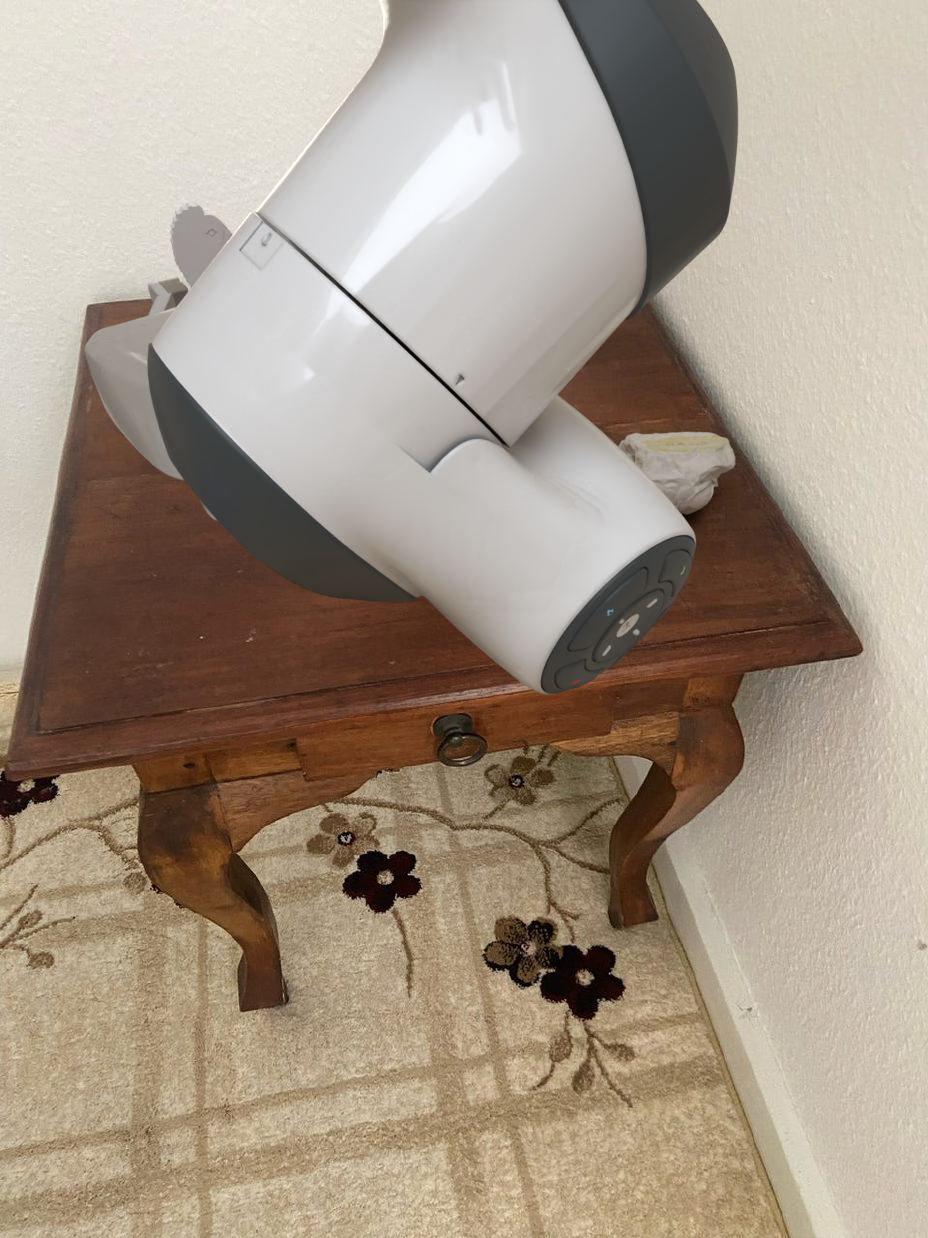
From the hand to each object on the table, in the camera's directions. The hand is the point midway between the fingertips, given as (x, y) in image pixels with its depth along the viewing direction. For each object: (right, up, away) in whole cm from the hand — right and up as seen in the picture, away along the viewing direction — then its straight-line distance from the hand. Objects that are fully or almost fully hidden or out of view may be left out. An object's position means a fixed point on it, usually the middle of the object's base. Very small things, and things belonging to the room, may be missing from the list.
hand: (252, 269), depth 45 cm
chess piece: (-15, +13, +53) cm, 57 cm away
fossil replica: (+28, -8, +33) cm, 44 cm away
